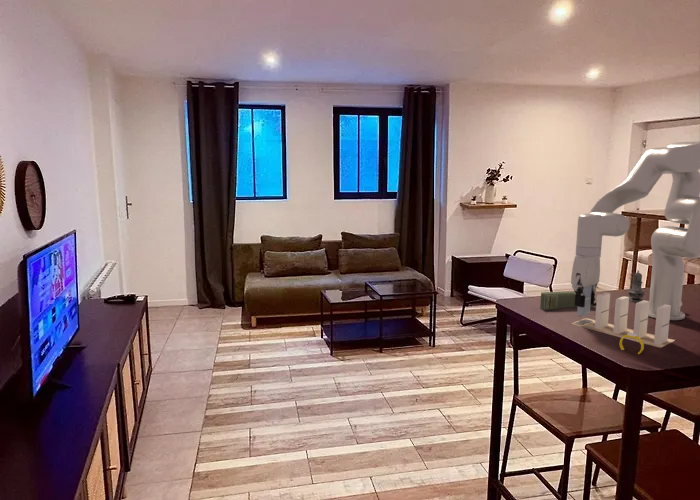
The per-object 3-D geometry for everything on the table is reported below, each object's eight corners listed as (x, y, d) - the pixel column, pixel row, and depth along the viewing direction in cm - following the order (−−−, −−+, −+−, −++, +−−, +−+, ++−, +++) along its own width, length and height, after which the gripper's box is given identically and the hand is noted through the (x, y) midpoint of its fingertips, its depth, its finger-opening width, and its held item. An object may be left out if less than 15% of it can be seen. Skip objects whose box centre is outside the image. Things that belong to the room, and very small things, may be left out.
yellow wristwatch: (643, 356, 142) (646, 336, 141) (640, 358, 140) (643, 339, 139) (620, 349, 146) (623, 330, 145) (617, 351, 144) (620, 332, 143)
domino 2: (594, 327, 163) (596, 295, 161) (602, 324, 166) (605, 292, 164) (599, 329, 162) (602, 296, 160) (607, 325, 165) (610, 293, 163)
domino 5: (653, 343, 149) (656, 307, 147) (661, 339, 152) (664, 304, 150) (659, 344, 147) (663, 308, 145) (667, 340, 150) (671, 305, 148)
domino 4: (632, 337, 153) (635, 303, 152) (640, 334, 156) (643, 300, 155) (638, 339, 152) (641, 304, 150) (646, 335, 155) (649, 301, 153)
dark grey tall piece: (646, 302, 192) (649, 272, 190) (630, 302, 194) (632, 272, 192) (641, 298, 198) (643, 269, 196) (625, 298, 199) (627, 268, 197)
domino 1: (590, 313, 169) (592, 281, 167) (581, 316, 166) (584, 284, 164) (585, 312, 170) (587, 280, 168) (576, 315, 167) (579, 283, 165)
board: (585, 320, 173) (586, 317, 173) (675, 342, 151) (675, 339, 151) (569, 326, 168) (569, 323, 167) (660, 350, 145) (660, 347, 145)
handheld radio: (539, 308, 189) (602, 305, 190) (543, 311, 186) (607, 308, 187) (540, 291, 187) (604, 289, 189) (544, 294, 184) (609, 291, 186)
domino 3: (613, 332, 158) (615, 299, 156) (621, 329, 161) (623, 296, 159) (618, 334, 157) (621, 300, 155) (626, 330, 160) (629, 297, 158)
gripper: (591, 247, 172) (587, 298, 175) (563, 252, 163) (559, 306, 166) (612, 250, 166) (608, 303, 169) (585, 256, 157) (581, 312, 160)
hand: (584, 304), depth 168 cm, fingers closed on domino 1, 5 cm apart
